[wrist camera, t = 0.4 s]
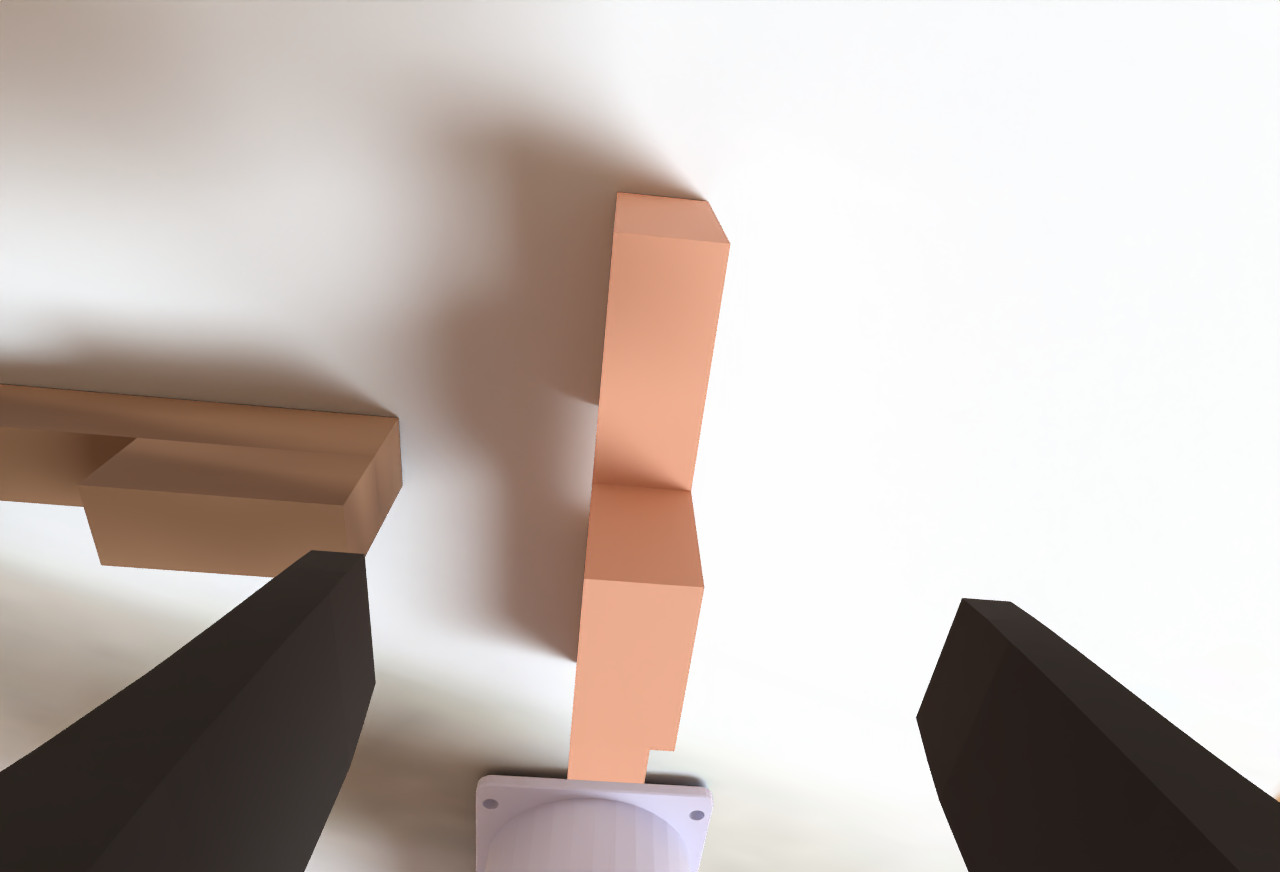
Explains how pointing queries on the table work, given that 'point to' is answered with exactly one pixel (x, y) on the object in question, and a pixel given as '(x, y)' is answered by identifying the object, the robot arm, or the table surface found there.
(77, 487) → the walnut notched bar
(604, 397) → the salmon stepped block
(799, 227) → the table surface
